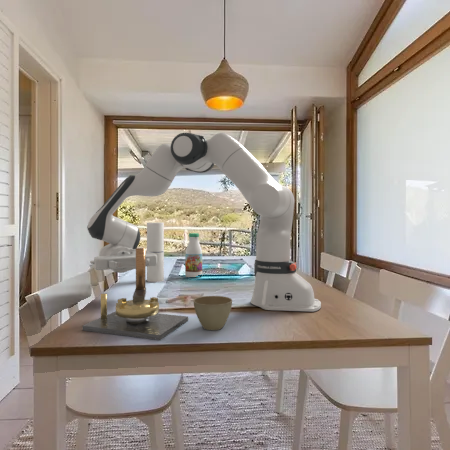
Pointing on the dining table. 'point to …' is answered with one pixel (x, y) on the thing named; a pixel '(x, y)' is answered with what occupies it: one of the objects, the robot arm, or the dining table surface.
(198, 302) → the flower pot
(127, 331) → the flange base
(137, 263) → the crank handle
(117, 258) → the robot arm
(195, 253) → the milk bottle
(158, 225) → the cylindrical container
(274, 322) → the dining table surface
